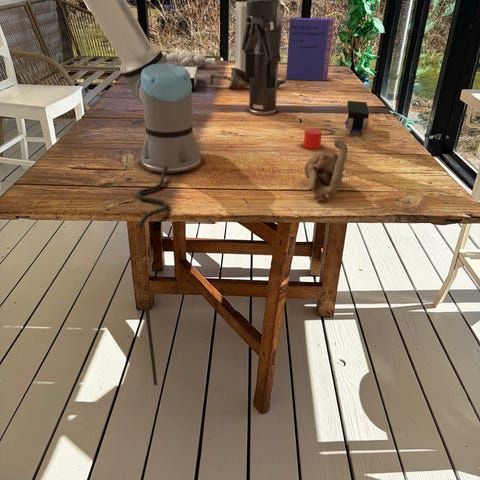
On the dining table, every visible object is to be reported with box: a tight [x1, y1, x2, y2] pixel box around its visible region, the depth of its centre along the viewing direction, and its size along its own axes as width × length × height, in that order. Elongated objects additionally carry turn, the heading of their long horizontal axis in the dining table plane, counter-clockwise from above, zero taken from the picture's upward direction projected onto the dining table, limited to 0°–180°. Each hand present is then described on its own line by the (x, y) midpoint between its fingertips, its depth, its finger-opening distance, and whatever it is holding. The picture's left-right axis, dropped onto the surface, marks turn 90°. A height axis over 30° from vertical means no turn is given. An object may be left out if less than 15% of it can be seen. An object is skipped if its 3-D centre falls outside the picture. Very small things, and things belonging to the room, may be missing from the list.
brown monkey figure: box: [303, 139, 349, 202], centre depth 108 cm, size 13×9×15 cm
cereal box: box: [285, 17, 334, 82], centre depth 201 cm, size 17×5×24 cm, turn 86°
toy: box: [161, 50, 218, 68], centre depth 224 cm, size 24×25×7 cm
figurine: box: [209, 66, 287, 89], centre depth 190 cm, size 24×8×30 cm
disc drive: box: [183, 66, 198, 92], centre depth 194 cm, size 18×22×5 cm
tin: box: [302, 128, 323, 150], centre depth 134 cm, size 5×5×4 cm
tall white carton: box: [234, 1, 249, 72], centre depth 210 cm, size 19×15×28 cm
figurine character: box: [344, 100, 370, 136], centre depth 146 cm, size 7×8×15 cm
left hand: (259, 82), depth 135 cm, fingers open, 13 cm apart
